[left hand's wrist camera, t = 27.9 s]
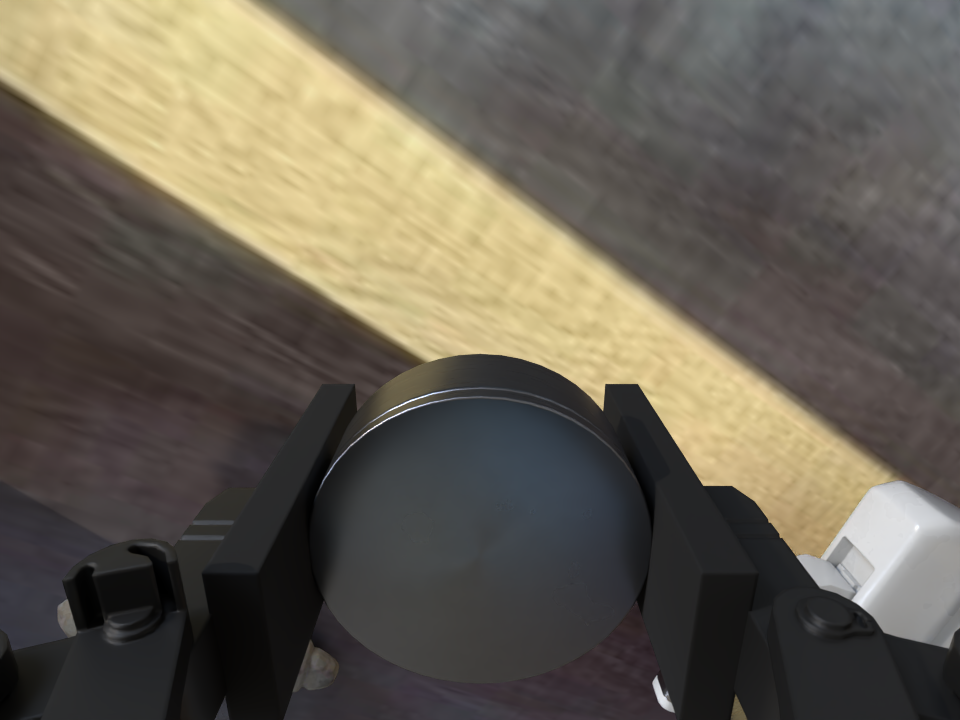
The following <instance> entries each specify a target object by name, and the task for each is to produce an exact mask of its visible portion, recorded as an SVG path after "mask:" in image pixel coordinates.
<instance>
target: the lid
mask: <svg viewBox="0 0 960 720" xmlns="http://www.w3.org/2000/svg"><path fill="white" fill-rule="evenodd" d="M308 543H309V552H310V560H311V568H312V573H313V576H314V579H315V581H316V584H317V587H318V590H319V592H320V594H321V595H322V597H323V599H324V601H325V603H326V605H327V607H328V608H329V609H330V611H331V612H332V614H333V615H334V616H335V618H336V619H337V620H338V622H339V623H340V624H341V625H342V626H343V627H344V628H345V629H346V630H347V631H348V632H349V633H350V634H351V636H353V637H354V638H355V639H356V640H357V641H359V642H360V643H361V644H362V645H364V646H365V647H366V648H367V649H369V650H370V651H372V652H374V653H375V654H377V655H378V656H380V657H381V658H383V659H385V660H387V661H389V662H391V663H393V664H395V665H397V666H399V667H401V668H404V669H406V670H409V671H412V672H415V673H417V674H420V675H424V676H428V677H432V678H436V679H440V680H446V681H453V682H459V683H479V684H481V683H501V682H508V681H514V680H521V679H525V678H529V677H533V676H537V675H540V674H543V673H546V672H549V671H551V670H554V669H557V668H559V667H561V666H563V665H565V664H567V663H569V662H572V661H574V660H576V659H577V658H579V657H581V656H582V655H584V654H585V653H587V652H588V651H590V650H591V649H593V648H594V647H596V646H597V645H598V644H599V643H600V642H602V641H603V640H604V639H605V638H606V637H608V636H609V635H610V634H611V633H612V632H613V631H614V630H615V628H616V627H617V626H618V625H619V624H620V623H621V622H622V621H623V619H624V618H625V617H626V615H627V614H628V613H629V611H630V610H631V608H632V607H633V605H634V604H635V602H636V600H637V598H638V596H639V594H640V592H641V590H642V588H643V585H644V582H645V579H646V577H647V574H648V570H649V564H650V556H651V547H652V525H651V517H650V512H649V509H648V505H647V502H646V498H645V495H644V493H643V491H642V489H641V487H640V485H639V482H638V480H637V478H636V476H635V474H634V472H633V469H632V467H631V465H630V463H629V461H628V458H627V456H626V454H625V452H624V450H623V448H622V445H621V443H620V441H619V439H618V437H617V435H616V432H615V430H614V428H613V426H612V424H611V423H610V421H609V420H608V418H607V417H606V415H605V414H604V412H603V411H602V410H601V409H600V407H599V406H598V405H597V404H596V403H595V402H594V401H593V400H592V398H591V397H590V396H588V395H587V394H586V393H585V392H584V391H583V390H581V389H580V388H579V387H578V386H577V385H576V384H574V383H572V382H571V381H569V380H568V379H566V378H565V377H563V376H561V375H560V374H558V373H556V372H554V371H552V370H550V369H547V368H545V367H543V366H541V365H538V364H535V363H532V362H529V361H526V360H523V359H518V358H513V357H507V356H502V355H488V354H472V355H458V356H453V357H448V358H442V359H438V360H435V361H431V362H428V363H425V364H422V365H419V366H417V367H415V368H413V369H411V370H409V371H406V372H404V373H402V374H400V375H399V376H397V377H396V378H394V379H393V380H391V381H389V382H388V383H386V384H385V385H384V386H382V387H381V388H380V389H379V390H378V391H376V392H375V393H374V394H373V395H372V396H371V397H370V398H369V399H368V400H367V401H366V402H365V403H364V404H363V406H362V407H361V408H360V409H359V410H358V411H357V413H356V414H355V416H354V417H353V419H352V420H351V422H350V423H349V425H348V427H347V429H346V431H345V433H344V435H343V437H342V440H341V442H340V444H339V446H338V448H337V450H336V453H335V455H334V457H333V459H332V461H331V463H330V466H329V468H328V470H327V472H326V474H325V476H324V479H323V481H322V483H321V485H320V487H319V489H318V492H317V494H316V496H315V499H314V503H313V506H312V510H311V513H310V519H309V527H308Z"/></svg>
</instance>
